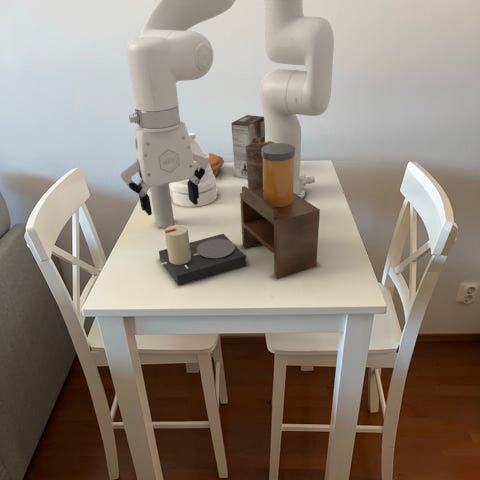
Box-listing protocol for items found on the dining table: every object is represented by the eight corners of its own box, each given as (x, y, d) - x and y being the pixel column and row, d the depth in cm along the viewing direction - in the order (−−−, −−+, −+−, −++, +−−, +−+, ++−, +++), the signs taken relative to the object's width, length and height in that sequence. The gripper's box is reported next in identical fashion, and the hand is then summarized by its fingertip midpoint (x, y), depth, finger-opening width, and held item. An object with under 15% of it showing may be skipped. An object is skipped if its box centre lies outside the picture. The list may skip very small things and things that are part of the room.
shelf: (279, 236, 113) (279, 175, 103) (316, 266, 101) (320, 200, 92) (242, 246, 110) (239, 185, 100) (276, 278, 98) (276, 212, 89)
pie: (173, 184, 142) (171, 168, 139) (178, 166, 154) (176, 151, 151) (224, 181, 142) (223, 165, 139) (225, 163, 154) (224, 148, 151)
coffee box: (249, 166, 151) (247, 114, 141) (266, 169, 148) (265, 116, 138) (233, 176, 145) (230, 122, 135) (251, 179, 142) (249, 124, 132)
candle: (244, 228, 117) (241, 147, 105) (254, 215, 122) (251, 137, 110) (274, 231, 115) (273, 149, 102) (282, 218, 120) (283, 139, 108)
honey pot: (225, 198, 132) (220, 132, 121) (184, 210, 127) (176, 143, 116) (203, 184, 141) (197, 122, 130) (164, 195, 135) (155, 131, 124)
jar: (283, 192, 101) (284, 141, 94) (300, 203, 96) (301, 149, 89) (256, 198, 99) (255, 147, 92) (272, 210, 94) (271, 156, 87)
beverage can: (171, 229, 119) (164, 183, 111) (153, 228, 119) (145, 182, 112) (176, 220, 122) (170, 175, 115) (159, 219, 123) (152, 175, 116)
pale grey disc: (225, 236, 109) (225, 235, 108) (241, 252, 102) (241, 251, 102) (191, 246, 106) (190, 244, 106) (205, 262, 100) (205, 261, 99)
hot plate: (223, 242, 111) (223, 232, 110) (246, 265, 103) (246, 255, 101) (153, 262, 106) (152, 252, 104) (171, 288, 97) (169, 277, 96)
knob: (186, 251, 104) (182, 221, 99) (194, 261, 100) (190, 230, 96) (166, 257, 102) (161, 226, 98) (173, 267, 99) (168, 236, 94)
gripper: (116, 130, 78) (134, 224, 88) (211, 114, 84) (218, 204, 94) (106, 120, 83) (124, 210, 94) (195, 106, 89) (203, 192, 99)
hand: (171, 207), depth 94 cm, fingers open, 9 cm apart
